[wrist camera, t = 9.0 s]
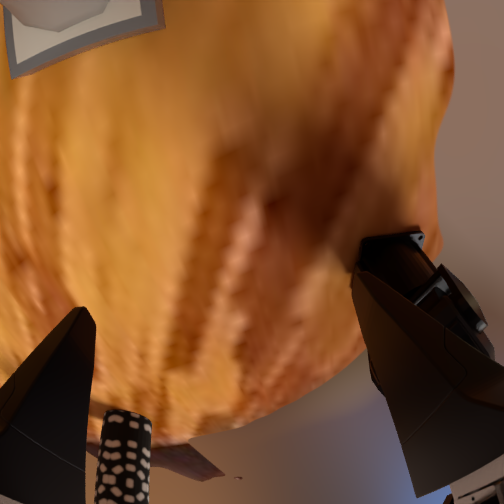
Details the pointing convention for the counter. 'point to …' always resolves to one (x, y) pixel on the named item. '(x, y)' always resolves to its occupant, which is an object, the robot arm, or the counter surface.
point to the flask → (54, 12)
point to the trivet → (77, 34)
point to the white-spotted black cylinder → (123, 459)
